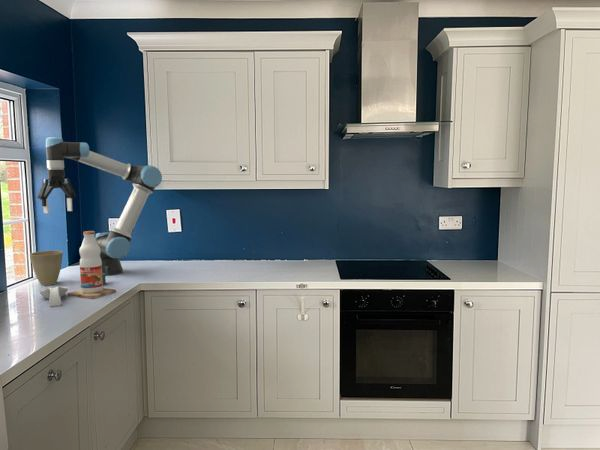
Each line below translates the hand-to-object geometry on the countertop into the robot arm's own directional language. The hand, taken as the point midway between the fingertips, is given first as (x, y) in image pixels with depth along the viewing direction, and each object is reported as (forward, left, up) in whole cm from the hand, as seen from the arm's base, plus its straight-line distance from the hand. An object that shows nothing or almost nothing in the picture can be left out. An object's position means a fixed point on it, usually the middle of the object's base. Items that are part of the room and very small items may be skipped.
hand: (58, 212), depth 240 cm
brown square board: (+9, +29, -37) cm, 48 cm away
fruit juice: (+8, +29, -36) cm, 47 cm away
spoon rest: (+23, +23, -37) cm, 49 cm away
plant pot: (+2, -8, -37) cm, 38 cm away
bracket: (-6, +17, -37) cm, 41 cm away
